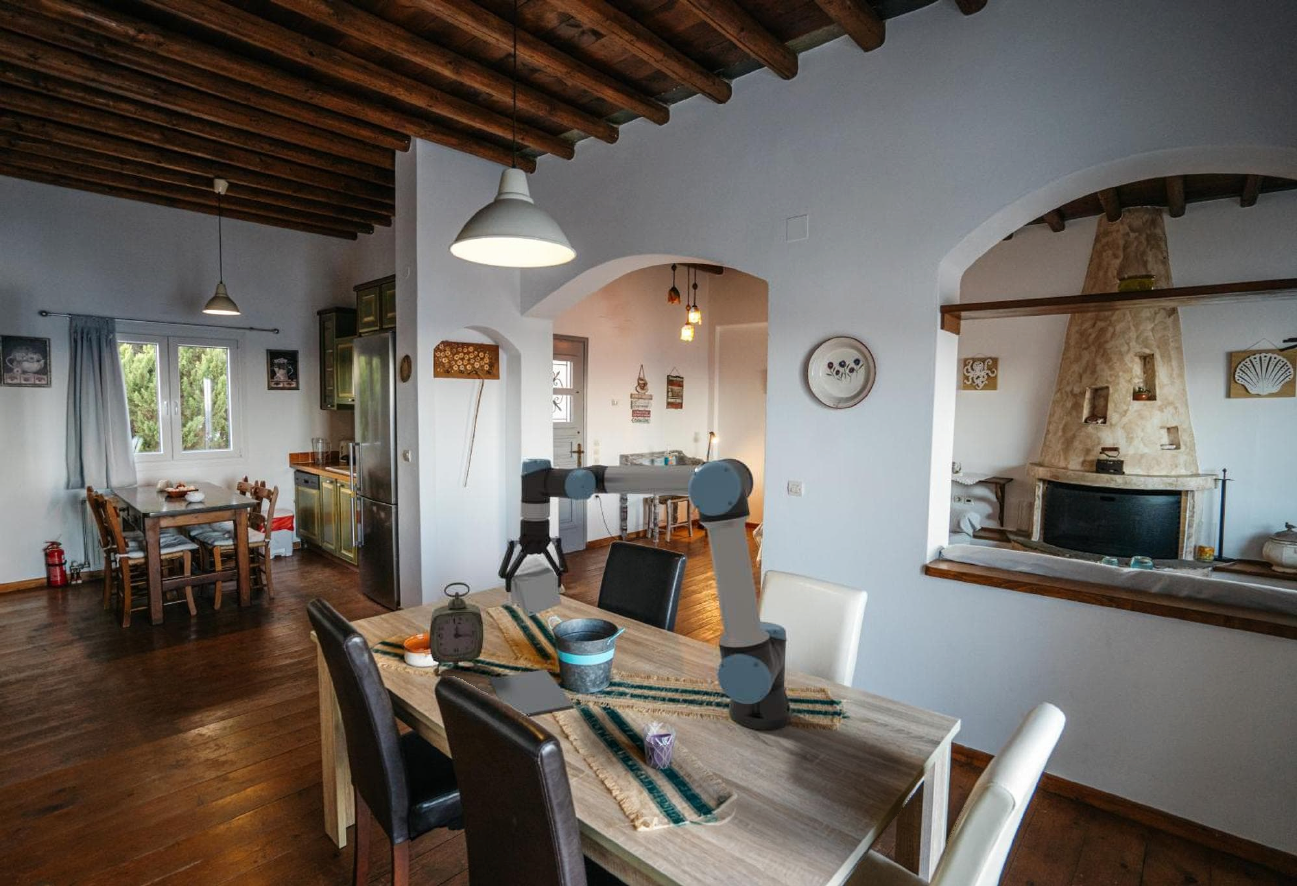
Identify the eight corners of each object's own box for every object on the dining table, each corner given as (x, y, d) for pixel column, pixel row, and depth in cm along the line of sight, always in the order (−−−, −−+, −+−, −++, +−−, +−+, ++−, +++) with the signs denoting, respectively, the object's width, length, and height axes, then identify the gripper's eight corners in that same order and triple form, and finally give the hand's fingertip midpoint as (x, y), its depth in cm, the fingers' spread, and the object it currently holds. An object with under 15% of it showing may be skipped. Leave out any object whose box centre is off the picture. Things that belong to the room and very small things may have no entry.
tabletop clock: (429, 677, 175) (430, 587, 174) (429, 664, 184) (430, 579, 183) (483, 671, 180) (484, 584, 179) (481, 659, 189) (482, 576, 187)
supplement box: (544, 588, 176) (562, 605, 161) (512, 599, 173) (528, 618, 158) (536, 556, 175) (554, 570, 160) (504, 567, 171) (518, 582, 156)
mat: (573, 707, 160) (573, 704, 160) (510, 718, 153) (510, 716, 153) (545, 671, 181) (545, 669, 181) (489, 680, 174) (489, 678, 174)
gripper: (573, 514, 173) (571, 593, 174) (486, 517, 163) (485, 602, 164) (582, 518, 166) (580, 601, 167) (493, 522, 156) (491, 610, 157)
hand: (533, 601), depth 166 cm, fingers closed on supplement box, 11 cm apart
